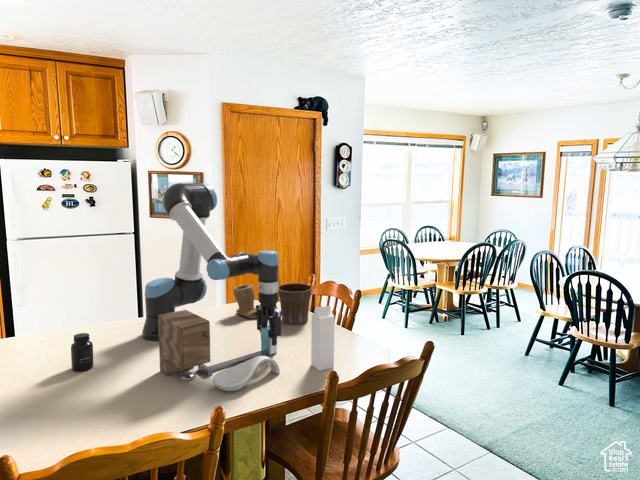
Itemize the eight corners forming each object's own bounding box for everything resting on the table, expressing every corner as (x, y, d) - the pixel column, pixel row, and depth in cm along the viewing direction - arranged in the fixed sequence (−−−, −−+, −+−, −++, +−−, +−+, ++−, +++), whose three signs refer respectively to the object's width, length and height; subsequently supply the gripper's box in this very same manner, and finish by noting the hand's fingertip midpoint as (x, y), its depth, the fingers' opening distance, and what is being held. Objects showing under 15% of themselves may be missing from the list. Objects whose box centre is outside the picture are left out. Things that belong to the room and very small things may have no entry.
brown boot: (229, 313, 226) (229, 284, 224) (251, 309, 233) (250, 280, 231) (244, 321, 214) (244, 290, 212) (266, 317, 221) (266, 286, 219)
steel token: (178, 378, 155) (178, 374, 155) (191, 373, 158) (191, 370, 158) (184, 383, 151) (184, 379, 151) (198, 378, 154) (198, 375, 154)
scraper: (198, 369, 161) (197, 342, 159) (267, 348, 181) (267, 324, 180) (208, 376, 156) (207, 347, 154) (278, 353, 176) (278, 328, 175)
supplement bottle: (84, 373, 157) (82, 339, 155) (67, 371, 158) (65, 337, 157) (98, 365, 164) (96, 332, 162) (81, 363, 165) (79, 331, 163)
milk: (333, 368, 164) (335, 307, 161) (318, 371, 161) (320, 310, 158) (325, 361, 169) (326, 303, 166) (310, 364, 166) (311, 305, 163)
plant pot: (291, 328, 205) (291, 293, 203) (270, 320, 217) (270, 286, 215) (318, 321, 216) (319, 287, 214) (297, 313, 228) (297, 281, 226)
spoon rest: (225, 400, 140) (225, 377, 139) (206, 387, 148) (205, 365, 147) (286, 377, 156) (286, 357, 155) (265, 367, 164) (265, 347, 163)
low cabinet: (160, 371, 159) (157, 315, 156) (186, 363, 166) (185, 309, 163) (185, 389, 146) (183, 328, 143) (213, 380, 152) (212, 322, 150)
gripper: (246, 289, 178) (247, 347, 181) (274, 298, 165) (275, 360, 168) (262, 286, 183) (263, 342, 186) (290, 294, 170) (290, 355, 173)
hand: (268, 350), depth 177 cm, fingers closed on scraper, 4 cm apart
